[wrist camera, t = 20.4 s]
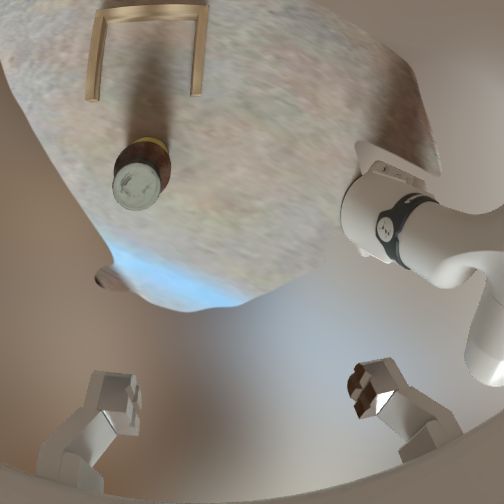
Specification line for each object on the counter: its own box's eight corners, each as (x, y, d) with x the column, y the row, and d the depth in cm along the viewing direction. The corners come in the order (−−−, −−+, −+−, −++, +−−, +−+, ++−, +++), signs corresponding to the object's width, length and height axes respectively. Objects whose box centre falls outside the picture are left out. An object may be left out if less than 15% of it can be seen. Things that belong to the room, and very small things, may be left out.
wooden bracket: (91, 102, 33) (85, 99, 30) (101, 18, 27) (96, 10, 24) (198, 96, 37) (201, 93, 34) (205, 14, 32) (209, 5, 29)
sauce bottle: (120, 147, 37) (82, 162, 19) (160, 129, 37) (154, 127, 20) (137, 188, 40) (115, 234, 22) (176, 171, 41) (184, 203, 23)
